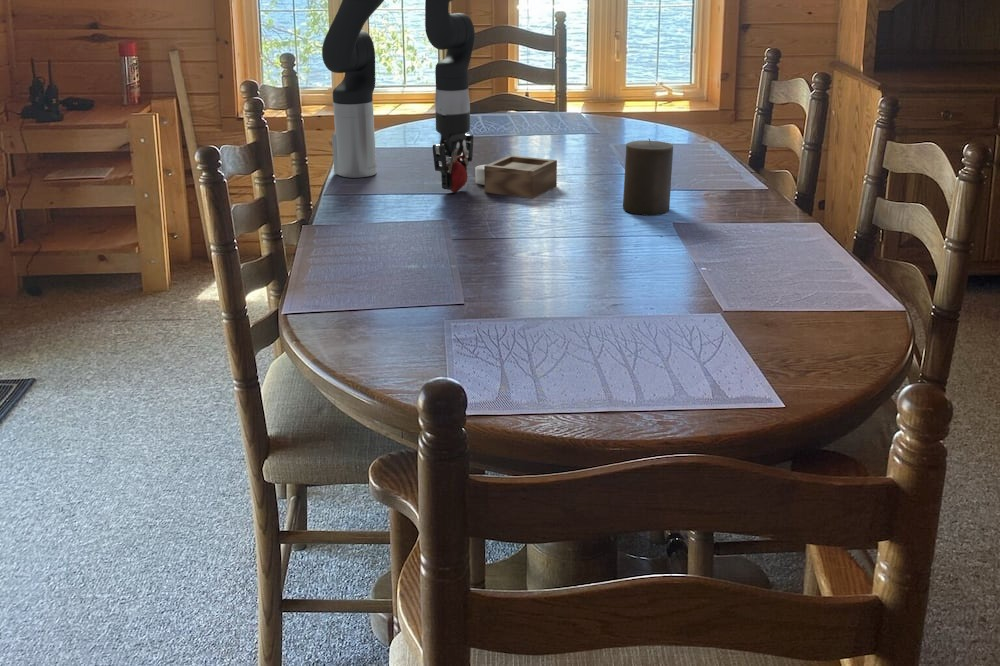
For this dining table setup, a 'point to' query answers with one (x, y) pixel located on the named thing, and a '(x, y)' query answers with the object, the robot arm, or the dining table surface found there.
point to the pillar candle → (647, 177)
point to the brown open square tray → (520, 176)
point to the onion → (458, 176)
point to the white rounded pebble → (480, 174)
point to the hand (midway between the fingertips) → (454, 185)
